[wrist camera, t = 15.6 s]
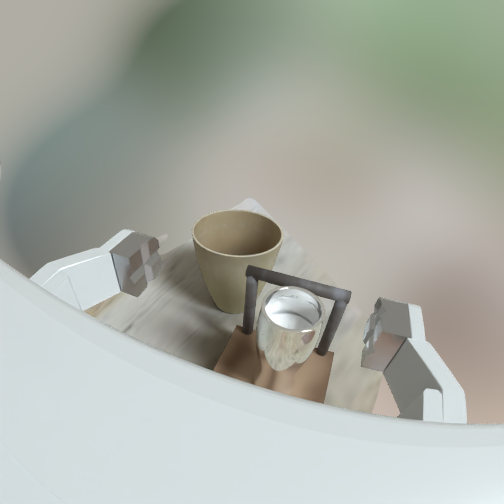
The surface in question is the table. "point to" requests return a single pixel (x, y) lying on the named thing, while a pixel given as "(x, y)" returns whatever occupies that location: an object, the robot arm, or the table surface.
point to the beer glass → (286, 336)
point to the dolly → (244, 338)
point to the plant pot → (234, 252)
